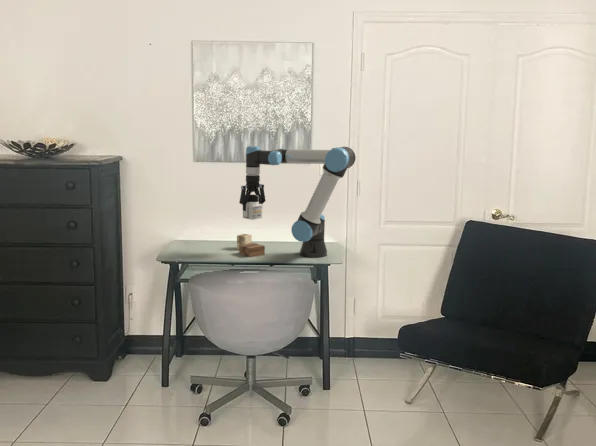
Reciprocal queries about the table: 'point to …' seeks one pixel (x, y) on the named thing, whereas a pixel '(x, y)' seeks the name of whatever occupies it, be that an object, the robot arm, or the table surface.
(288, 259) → the table surface
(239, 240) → the maple block
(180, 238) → the table surface
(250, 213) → the container
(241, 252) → the walnut block
